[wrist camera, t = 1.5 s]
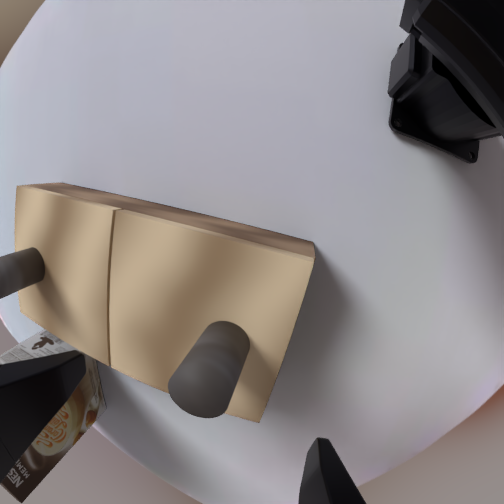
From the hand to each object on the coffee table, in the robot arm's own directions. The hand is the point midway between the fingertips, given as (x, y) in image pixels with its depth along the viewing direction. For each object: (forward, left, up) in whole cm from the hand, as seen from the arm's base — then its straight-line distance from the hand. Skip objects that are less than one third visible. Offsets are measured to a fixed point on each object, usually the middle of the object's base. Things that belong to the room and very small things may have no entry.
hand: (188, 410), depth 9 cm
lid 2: (+2, 0, -6) cm, 6 cm away
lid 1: (+12, 0, -6) cm, 13 cm away
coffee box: (+15, +13, -10) cm, 22 cm away
